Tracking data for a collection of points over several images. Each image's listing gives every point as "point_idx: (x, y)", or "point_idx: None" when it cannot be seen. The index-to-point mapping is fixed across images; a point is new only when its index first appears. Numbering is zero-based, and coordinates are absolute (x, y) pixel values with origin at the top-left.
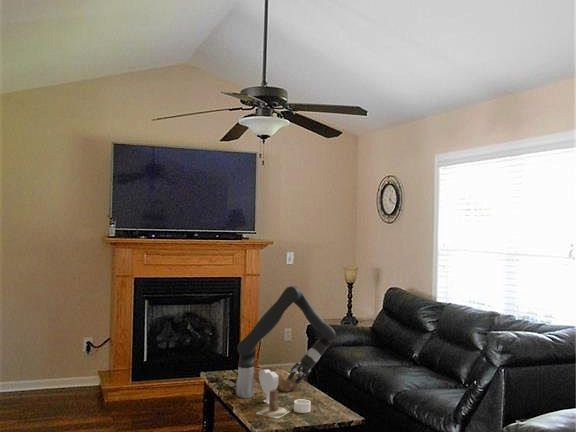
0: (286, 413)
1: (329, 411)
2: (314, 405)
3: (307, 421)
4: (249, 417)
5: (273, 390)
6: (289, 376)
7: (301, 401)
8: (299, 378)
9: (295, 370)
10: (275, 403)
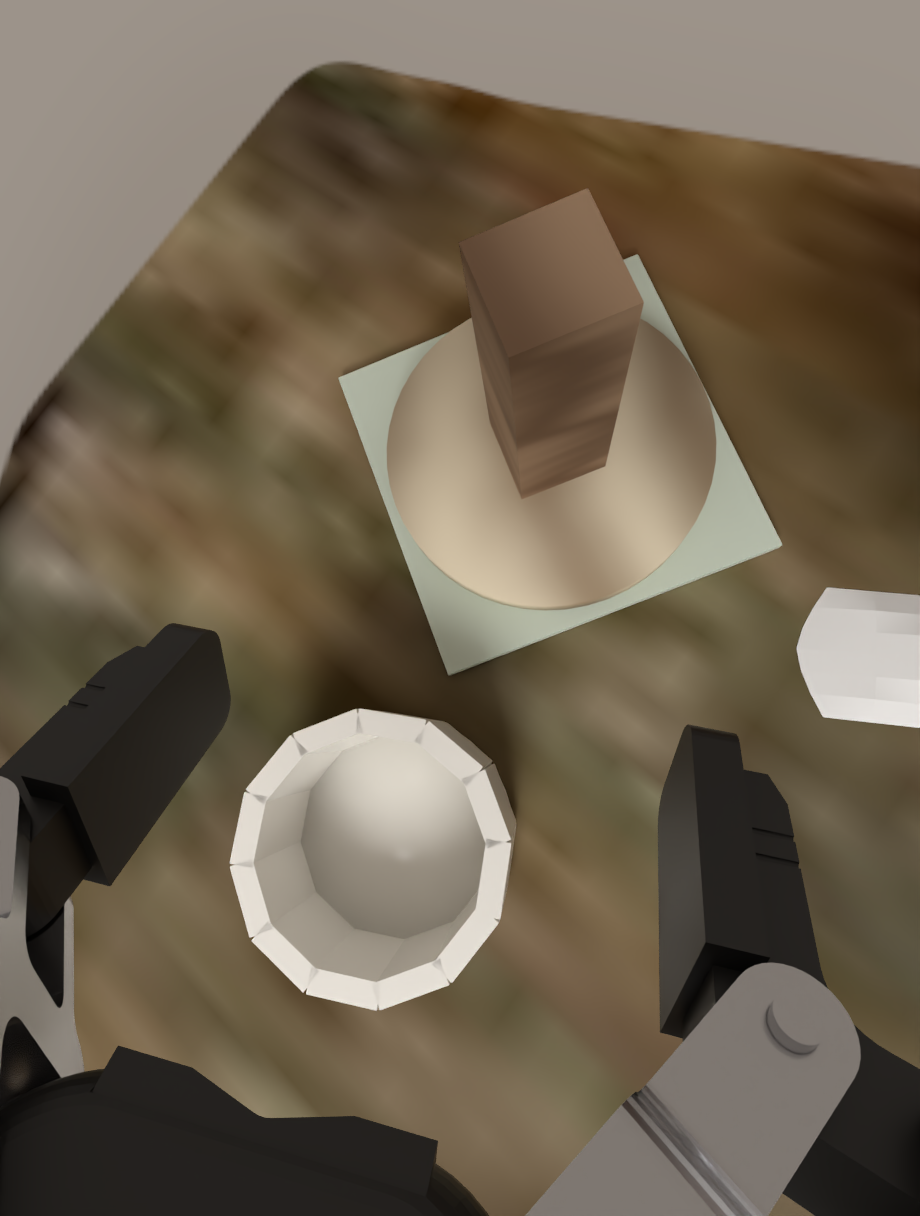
0: (414, 564)
1: None
2: (487, 1187)
3: (82, 615)
4: (586, 161)
5: (554, 260)
6: (688, 787)
7: (466, 917)
8: (39, 744)
9: (591, 1152)
10: (487, 386)
